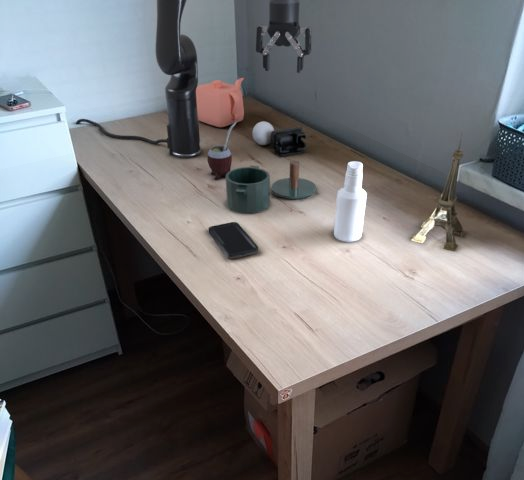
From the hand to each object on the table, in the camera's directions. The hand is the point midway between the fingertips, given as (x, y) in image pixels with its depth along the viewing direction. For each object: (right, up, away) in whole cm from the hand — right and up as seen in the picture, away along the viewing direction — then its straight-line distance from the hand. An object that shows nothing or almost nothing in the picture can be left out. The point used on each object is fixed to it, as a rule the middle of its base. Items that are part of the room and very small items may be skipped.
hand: (283, 71), depth 146 cm
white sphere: (-6, -5, +37) cm, 38 cm away
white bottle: (+15, -46, -11) cm, 50 cm away
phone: (-13, -48, -13) cm, 52 cm away
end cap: (+3, -10, +32) cm, 34 cm away
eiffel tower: (+38, -47, -11) cm, 61 cm away
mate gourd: (-18, -22, +17) cm, 33 cm away
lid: (+3, -29, +9) cm, 30 cm away
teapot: (-19, +10, +56) cm, 60 cm away
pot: (-9, -35, +3) cm, 36 cm away
